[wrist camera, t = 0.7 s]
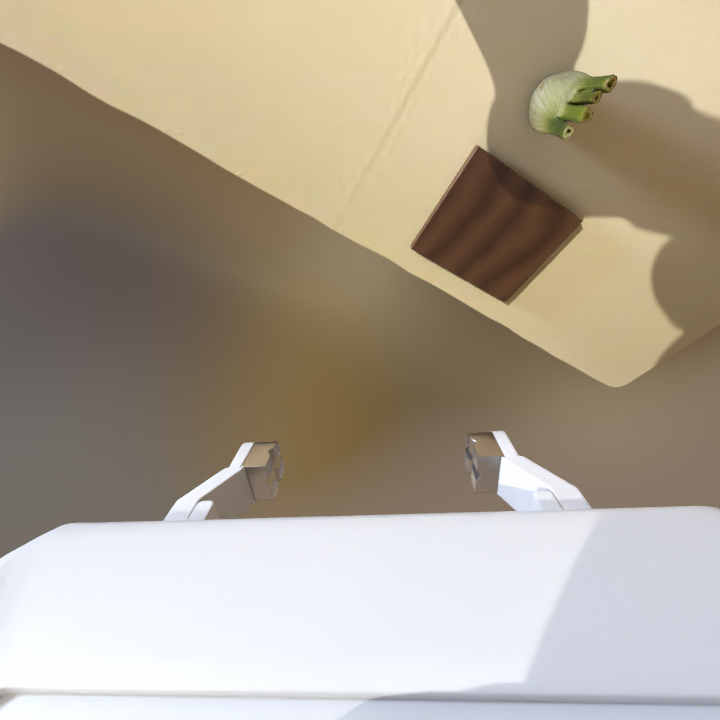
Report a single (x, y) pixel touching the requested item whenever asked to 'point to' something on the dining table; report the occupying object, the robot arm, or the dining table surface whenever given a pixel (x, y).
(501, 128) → the dining table surface
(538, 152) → the dining table surface
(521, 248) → the cutting board
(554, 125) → the fennel bulb
